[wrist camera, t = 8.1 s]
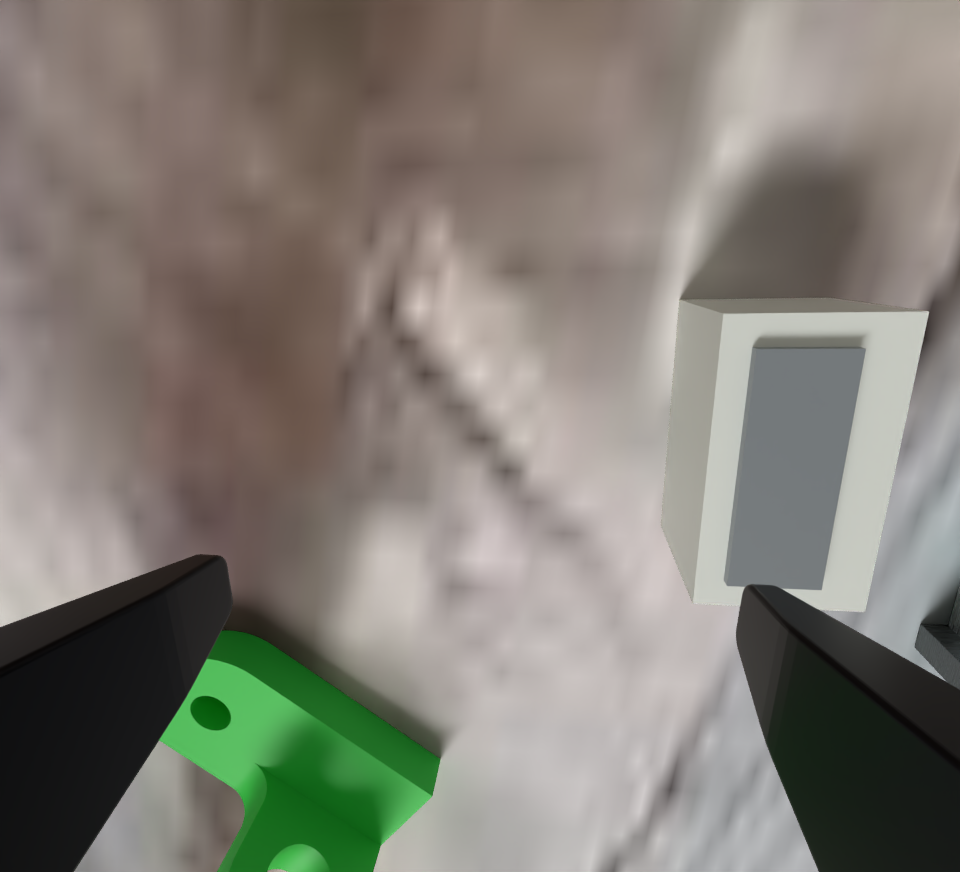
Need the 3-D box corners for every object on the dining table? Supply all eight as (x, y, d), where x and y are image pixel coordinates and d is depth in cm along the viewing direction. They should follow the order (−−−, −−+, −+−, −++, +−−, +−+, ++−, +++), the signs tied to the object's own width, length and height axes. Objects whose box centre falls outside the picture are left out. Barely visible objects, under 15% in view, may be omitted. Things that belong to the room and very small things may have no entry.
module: (832, 296, 17) (944, 312, 12) (794, 528, 20) (877, 619, 15) (678, 299, 18) (726, 315, 13) (659, 523, 20) (695, 610, 15)
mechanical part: (441, 755, 25) (393, 970, 18) (370, 825, 27) (299, 1046, 19) (217, 603, 24) (64, 762, 16) (160, 686, 26) (-2, 863, 18)
